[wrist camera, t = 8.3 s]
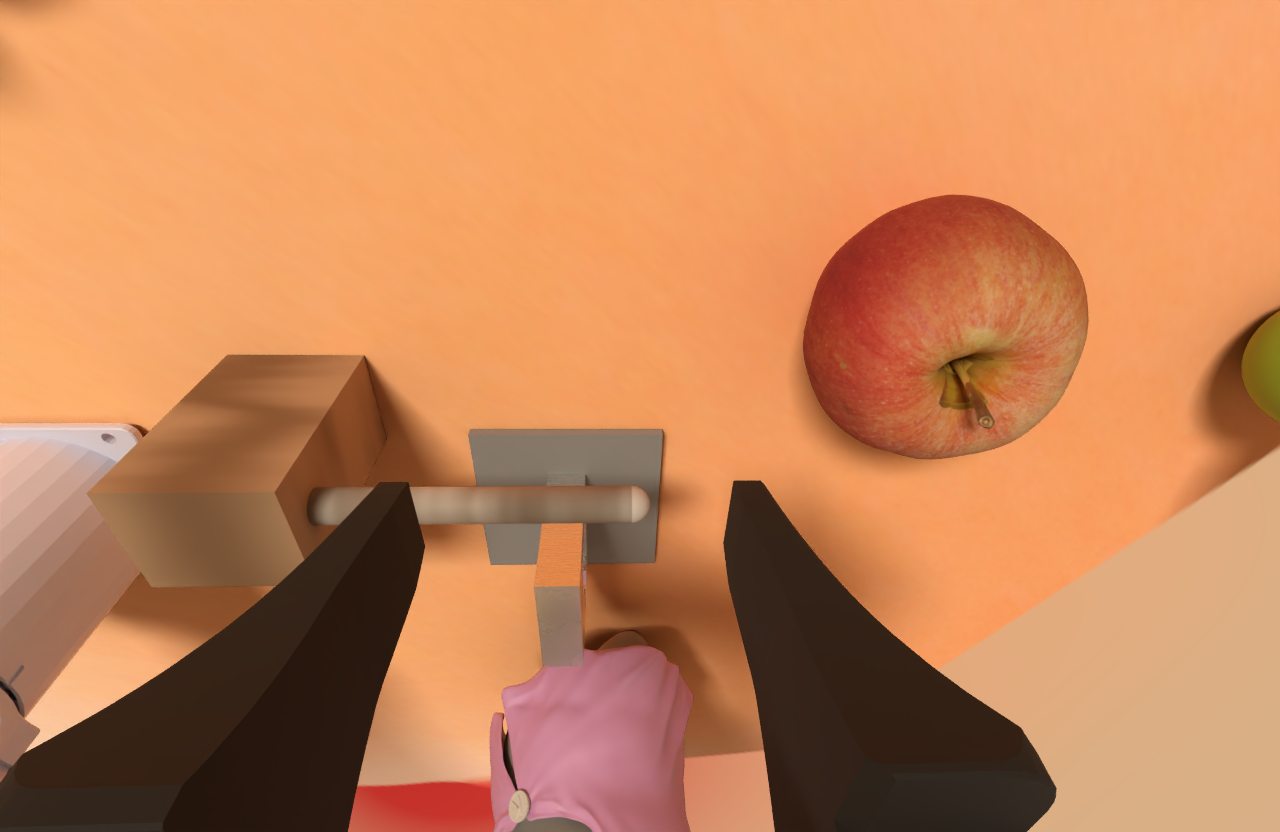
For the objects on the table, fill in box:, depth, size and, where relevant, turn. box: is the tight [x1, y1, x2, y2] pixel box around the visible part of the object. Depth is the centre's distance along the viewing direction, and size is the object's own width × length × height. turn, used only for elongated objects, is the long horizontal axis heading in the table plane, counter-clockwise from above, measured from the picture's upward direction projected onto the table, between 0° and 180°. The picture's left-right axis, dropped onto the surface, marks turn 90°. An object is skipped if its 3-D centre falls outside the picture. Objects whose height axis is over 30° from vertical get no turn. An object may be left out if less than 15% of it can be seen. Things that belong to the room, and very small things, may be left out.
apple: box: [803, 195, 1088, 459], centre depth 19 cm, size 8×8×8 cm
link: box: [534, 473, 588, 667], centre depth 25 cm, size 2×5×6 cm, turn 178°
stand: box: [86, 355, 650, 588], centre depth 21 cm, size 16×4×8 cm, turn 88°
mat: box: [468, 429, 663, 565], centre depth 27 cm, size 8×8×1 cm
